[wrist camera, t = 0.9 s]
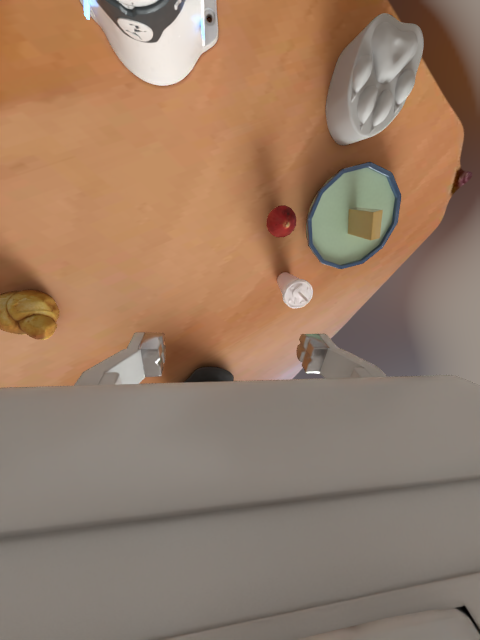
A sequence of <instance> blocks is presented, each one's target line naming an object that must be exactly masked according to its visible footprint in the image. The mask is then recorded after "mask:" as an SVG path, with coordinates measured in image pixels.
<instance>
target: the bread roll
mask: <svg viewBox="0 0 480 640" xmlns="http://www.w3.org/2000/svg"><path fill="white" fill-rule="evenodd" d="M58 316H59V309H58V307H57V305H56V303H55V301H54V300H53V299H52V298H51V297H50V296H49V295H47V294H45V293H43V292H40V291H37V290H22V291H12V292H7V293H3V294H0V329H1V330H3V331H6V332H10V333H15V334H27V335H29V336H30V337H32V338H35V339H39V340H44V339H47V338H49V337H50V336H51V335H52V334H53V333H54V332H55V329H56V328H57V324H56V322H57V319H58Z"/></svg>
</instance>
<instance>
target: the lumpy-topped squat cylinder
mask: <svg viewBox="0 0 480 640" xmlns="http://www.w3.org/2000/svg"><path fill="white" fill-rule="evenodd" d="M423 44H424V42H423V35H422V32H421V29H420V28H419V27H418V26H417V25H415V24H409V23H402V22H400V21H398V20H396V19H395V18H394V17H393V16H391V15H390V14H387V13H383V14H380V15H378V16H377V17H376V18H374V19H373V20H372V21H371V22H370V23H369V24H368V25H367V26H366V27H365V28H364V29H363V30H362V31H361V32H360V33H359V34H358V35H357V37H356V38H355V39H354V40H353V41H352V42H351V43H350V44H349V45H348V46H347V47H346V48H345V49H344V50H343V51H342V53H341V54H340V56H339V58H338V60H337V63H336V66H335V69H334V72H333V75H332V79H331V82H330V86H329V91H328V95H327V100H326V118H327V125H328V129H329V132H330V134H331V136H332V138H333V140H334V141H335V142H336V143H337V144H339V145H348V144H351V143H354V142H357V141H360V140H363V139H367V138H369V137H372V136H374V135H376V134H378V133H379V132H381V131H382V130H384V129H385V128H386V127H387V126H388V125H389V124H390V123H391V121H392V120H393V119H394V118H395V117H396V115H397V114H398V113H399V112H400V110H401V109H402V107H403V105H404V103H405V101H406V98H407V96H408V95H409V94H410V92H411V90H412V89H413V86H414V83H415V76H416V72H417V69H418V66H419V63H420V60H421V57H422V52H423V46H424V45H423Z"/></svg>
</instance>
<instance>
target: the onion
mask: <svg viewBox="0 0 480 640" xmlns="http://www.w3.org/2000/svg"><path fill="white" fill-rule="evenodd" d="M295 226H296V216H295V213H294V212H293V210H292V209H291V208H289V207H287V206H285V205H284V206H278V207H276V208H274V209H273V210H272V211H271V212H270V213H269V215H268V218H267V228H268V231H269V232H270V233H271V234H272V235H273V236H276V237H285V236H287V235H289V234H290V233H291V232H292V231H293V230H294V228H295Z"/></svg>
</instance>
